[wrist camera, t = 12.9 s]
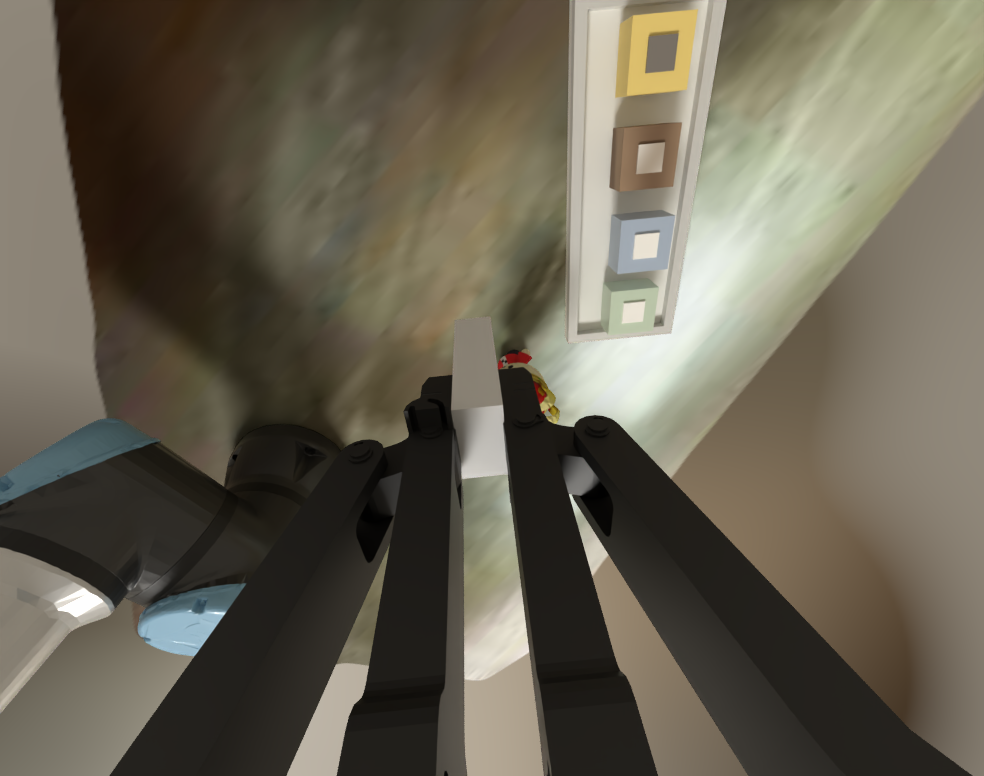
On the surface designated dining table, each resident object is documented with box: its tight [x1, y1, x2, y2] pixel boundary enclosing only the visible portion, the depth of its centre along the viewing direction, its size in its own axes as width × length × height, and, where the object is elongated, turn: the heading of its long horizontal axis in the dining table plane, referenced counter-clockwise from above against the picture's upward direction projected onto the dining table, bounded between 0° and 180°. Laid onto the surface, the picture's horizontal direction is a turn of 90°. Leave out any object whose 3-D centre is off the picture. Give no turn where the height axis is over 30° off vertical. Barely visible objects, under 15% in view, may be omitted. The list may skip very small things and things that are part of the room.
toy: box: [498, 349, 560, 424], centre depth 44 cm, size 7×7×15 cm
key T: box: [609, 122, 682, 192], centre depth 36 cm, size 5×5×3 cm
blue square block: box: [608, 210, 675, 274], centre depth 39 cm, size 5×5×3 cm
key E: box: [600, 278, 659, 335], centre depth 44 cm, size 5×5×3 cm
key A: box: [615, 9, 698, 98], centre depth 33 cm, size 5×5×3 cm
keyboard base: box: [565, 0, 727, 344], centre depth 41 cm, size 12×30×2 cm, turn 5°
